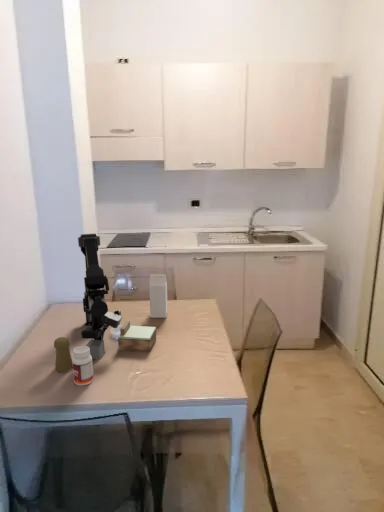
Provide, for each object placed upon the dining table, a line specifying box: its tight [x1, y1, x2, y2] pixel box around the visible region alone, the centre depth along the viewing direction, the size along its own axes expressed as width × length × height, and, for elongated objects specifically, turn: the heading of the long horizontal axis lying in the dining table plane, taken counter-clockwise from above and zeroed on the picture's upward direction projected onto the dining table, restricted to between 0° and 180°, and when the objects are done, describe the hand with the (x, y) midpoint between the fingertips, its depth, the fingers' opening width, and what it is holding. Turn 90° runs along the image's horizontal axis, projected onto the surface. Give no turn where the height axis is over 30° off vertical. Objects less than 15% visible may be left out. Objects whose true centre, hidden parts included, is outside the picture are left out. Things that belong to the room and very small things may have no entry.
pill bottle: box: [71, 345, 94, 386], centre depth 132 cm, size 6×6×11 cm
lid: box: [117, 320, 157, 340], centre depth 156 cm, size 12×10×3 cm
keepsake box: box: [117, 328, 157, 353], centre depth 157 cm, size 12×10×4 cm
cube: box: [85, 339, 106, 360], centre depth 149 cm, size 5×5×5 cm
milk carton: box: [148, 274, 168, 319], centre depth 184 cm, size 7×7×19 cm
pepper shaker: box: [53, 336, 73, 373], centre depth 140 cm, size 6×6×11 cm
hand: (100, 345), depth 153 cm, fingers closed
